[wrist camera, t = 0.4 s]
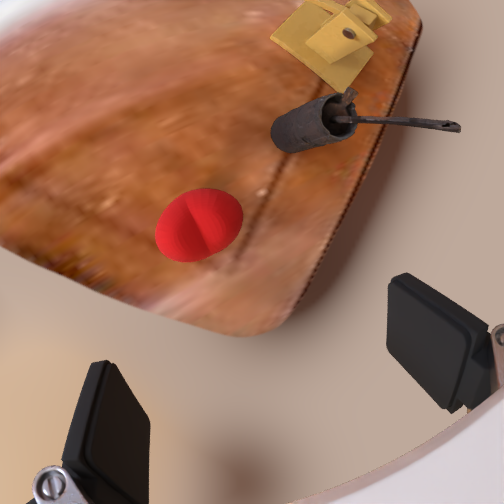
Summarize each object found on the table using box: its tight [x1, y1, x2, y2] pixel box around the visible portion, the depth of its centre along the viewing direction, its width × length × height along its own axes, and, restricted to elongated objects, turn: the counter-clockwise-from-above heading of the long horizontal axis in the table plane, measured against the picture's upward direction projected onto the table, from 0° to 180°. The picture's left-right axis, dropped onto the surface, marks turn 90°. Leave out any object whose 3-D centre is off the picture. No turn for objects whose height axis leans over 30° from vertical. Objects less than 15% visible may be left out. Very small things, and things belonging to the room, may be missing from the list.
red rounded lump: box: [155, 188, 243, 262], centre depth 32 cm, size 9×7×10 cm
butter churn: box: [271, 87, 461, 153], centre depth 22 cm, size 9×10×28 cm
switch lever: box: [305, 0, 377, 30], centre depth 24 cm, size 13×3×3 cm, turn 54°
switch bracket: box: [270, 0, 392, 94], centre depth 27 cm, size 12×9×12 cm
